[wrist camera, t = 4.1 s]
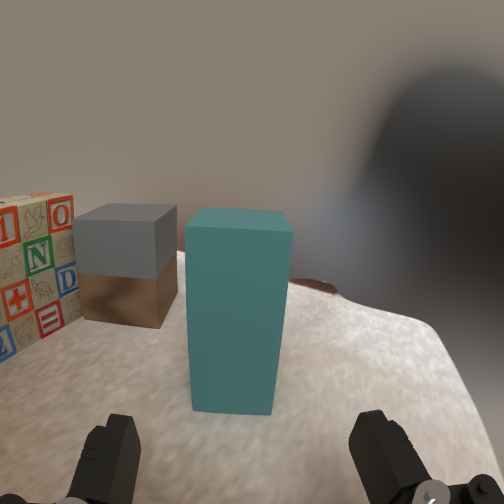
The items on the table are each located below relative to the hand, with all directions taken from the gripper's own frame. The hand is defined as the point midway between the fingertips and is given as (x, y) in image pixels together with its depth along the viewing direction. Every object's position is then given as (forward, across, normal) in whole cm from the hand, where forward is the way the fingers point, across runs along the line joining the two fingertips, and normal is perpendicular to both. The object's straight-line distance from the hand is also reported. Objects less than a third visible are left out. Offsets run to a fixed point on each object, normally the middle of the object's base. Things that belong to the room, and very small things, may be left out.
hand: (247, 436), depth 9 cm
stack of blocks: (+11, +22, +7) cm, 25 cm away
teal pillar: (+10, 0, +6) cm, 12 cm away
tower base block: (+22, +10, +7) cm, 25 cm away
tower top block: (+22, +10, +2) cm, 24 cm away
